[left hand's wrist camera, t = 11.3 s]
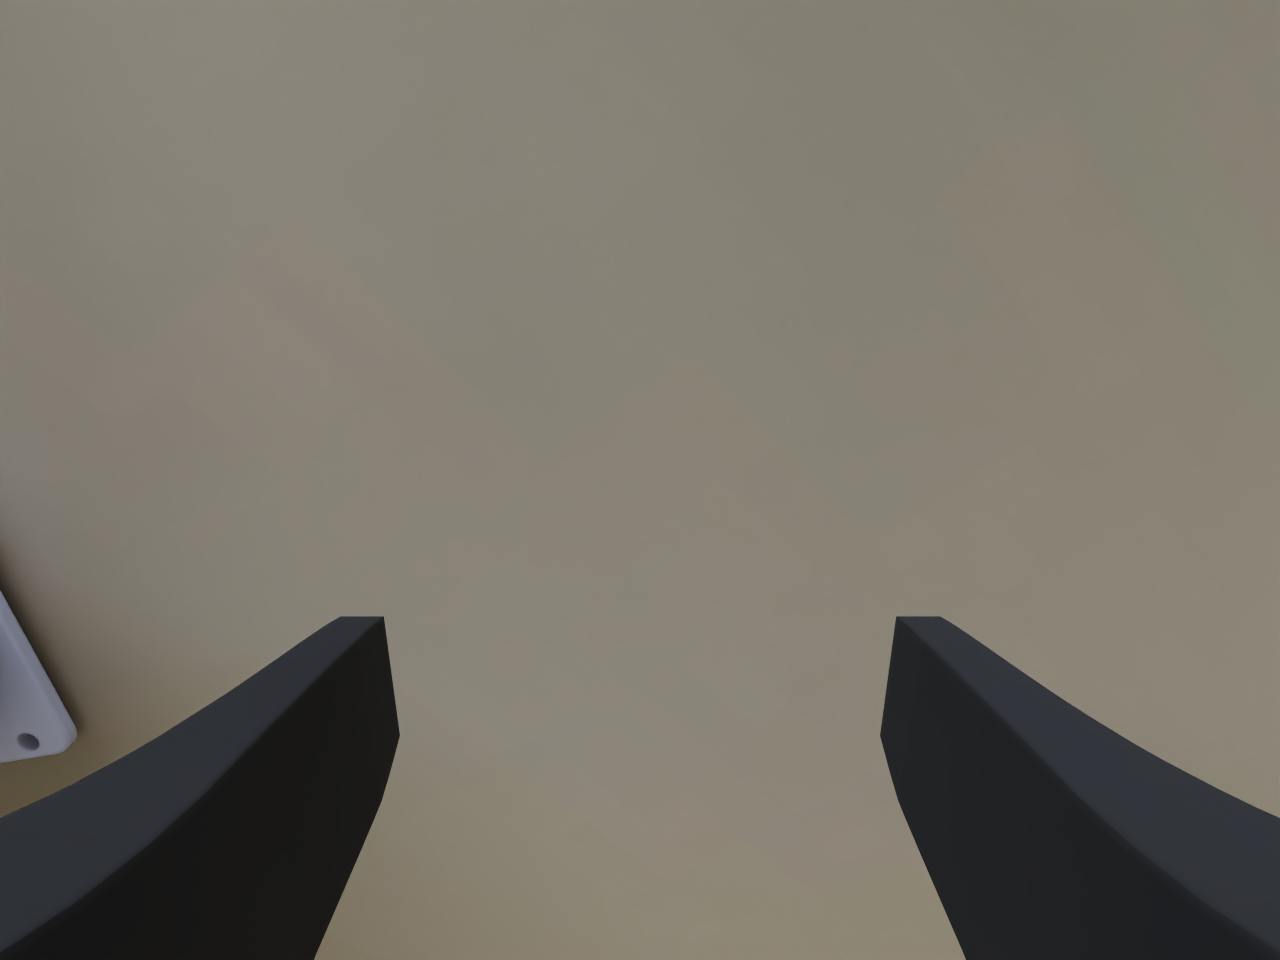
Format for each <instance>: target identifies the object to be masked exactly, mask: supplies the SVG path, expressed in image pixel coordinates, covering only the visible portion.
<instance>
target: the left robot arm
mask: <svg viewBox="0 0 1280 960" xmlns="http://www.w3.org/2000/svg"><path fill="white" fill-rule="evenodd" d="M32 735H33V736H35V737H36V738H37V739H36V738H34V737H33V736H32ZM399 736H400V734H399V726H398V719H397V711H396V704H395V697H394V689H393V682H392V675H391V667H390V660H389V652H388V645H387V638H386V630H385V623H384V617H339V618H337V619H335V620H334V621H332V622H330V623H329V624H327V625H326V626H324V627H322V628H321V629H319V630H318V631H316V632H315V633H313V634H312V635H311V636H309V637H308V638H306V639H305V640H303V641H302V642H300V643H299V644H298V645H296V646H295V647H293V648H292V649H290V650H289V651H288V652H286V653H285V654H283V655H282V656H280V657H279V658H278V659H276V660H275V661H273V662H272V663H270V664H269V665H267V666H266V667H265V668H263V669H262V670H260V671H259V672H257V673H256V674H254V675H253V676H251V677H250V678H249V679H247V680H246V681H244V682H243V683H241V684H240V685H238V686H237V687H236V688H234V689H233V690H231V691H230V692H228V693H227V694H225V695H224V696H222V697H220V698H219V699H217V700H216V701H214V702H213V703H211V704H209V705H208V706H206V707H205V708H203V709H201V710H200V711H198V712H197V713H195V714H194V715H192V716H190V717H189V718H187V719H186V720H184V721H183V722H181V723H179V724H178V725H176V726H175V727H173V728H171V729H170V730H168V731H167V732H165V733H164V734H162V735H160V736H159V737H157V738H155V739H154V740H152V741H150V742H149V743H147V744H145V745H144V746H142V747H140V748H138V749H137V750H135V751H133V752H131V753H129V754H128V755H126V756H124V757H122V758H121V759H119V760H117V761H115V762H113V763H111V764H110V765H108V766H106V767H104V768H102V769H100V770H98V771H96V772H94V773H93V774H91V775H89V776H87V777H85V778H83V779H81V780H79V781H77V782H76V783H74V784H72V785H70V786H68V787H66V788H64V789H62V790H60V791H58V792H56V793H54V794H52V795H49V796H47V797H45V798H43V799H41V800H39V801H36V802H34V803H32V804H30V805H28V806H26V807H23V808H21V809H19V810H17V811H15V812H13V813H10V814H8V815H6V816H4V817H2V818H0V960H314V958H315V955H316V953H317V951H318V948H319V946H320V944H321V941H322V939H323V937H324V935H325V932H326V930H327V928H328V925H329V923H330V921H331V918H332V916H333V914H334V911H335V909H336V907H337V904H338V902H339V900H340V898H341V895H342V893H343V891H344V888H345V886H346V884H347V881H348V879H349V877H350V874H351V872H352V870H353V867H354V865H355V863H356V861H357V858H358V856H359V854H360V851H361V849H362V847H363V844H364V842H365V839H366V837H367V835H368V832H369V830H370V828H371V825H372V823H373V821H374V818H375V816H376V813H377V811H378V808H379V806H380V803H381V801H382V798H383V794H384V791H385V788H386V784H387V781H388V777H389V774H390V770H391V767H392V763H393V759H394V755H395V752H396V748H397V744H398V740H399ZM880 736H881V740H882V744H883V748H884V752H885V755H886V759H887V763H888V767H889V770H890V774H891V777H892V781H893V784H894V788H895V791H896V794H897V798H898V801H899V803H900V806H901V808H902V811H903V813H904V816H905V818H906V821H907V823H908V825H909V828H910V830H911V832H912V835H913V837H914V839H915V842H916V844H917V847H918V849H919V851H920V854H921V856H922V858H923V861H924V863H925V865H926V867H927V870H928V872H929V874H930V877H931V879H932V881H933V884H934V886H935V888H936V891H937V893H938V895H939V898H940V900H941V902H942V904H943V907H944V909H945V911H946V914H947V916H948V918H949V921H950V923H951V925H952V928H953V930H954V932H955V935H956V937H957V939H958V941H959V944H960V946H961V948H962V951H963V953H964V955H965V958H966V960H1280V818H1278V817H1276V816H1274V815H1272V814H1269V813H1267V812H1265V811H1263V810H1260V809H1258V808H1256V807H1254V806H1252V805H1250V804H1248V803H1246V802H1244V801H1242V800H1239V799H1237V798H1235V797H1233V796H1231V795H1229V794H1227V793H1225V792H1223V791H1221V790H1219V789H1217V788H1215V787H1213V786H1211V785H1209V784H1208V783H1206V782H1204V781H1202V780H1200V779H1198V778H1196V777H1194V776H1192V775H1190V774H1188V773H1187V772H1185V771H1183V770H1181V769H1179V768H1177V767H1175V766H1173V765H1171V764H1169V763H1167V762H1166V761H1164V760H1162V759H1160V758H1158V757H1157V756H1155V755H1153V754H1151V753H1149V752H1148V751H1146V750H1144V749H1142V748H1141V747H1139V746H1137V745H1135V744H1134V743H1132V742H1130V741H1129V740H1127V739H1125V738H1124V737H1122V736H1120V735H1119V734H1117V733H1116V732H1114V731H1112V730H1111V729H1109V728H1107V727H1106V726H1104V725H1102V724H1101V723H1099V722H1098V721H1096V720H1094V719H1093V718H1091V717H1089V716H1088V715H1086V714H1085V713H1083V712H1082V711H1080V710H1078V709H1077V708H1075V707H1074V706H1072V705H1071V704H1069V703H1068V702H1066V701H1064V700H1063V699H1061V698H1060V697H1058V696H1057V695H1055V694H1054V693H1052V692H1051V691H1049V690H1048V689H1046V688H1045V687H1044V686H1042V685H1041V684H1039V683H1038V682H1036V681H1035V680H1033V679H1032V678H1030V677H1029V676H1027V675H1026V674H1024V673H1023V672H1022V671H1020V670H1019V669H1017V668H1016V667H1014V666H1013V665H1012V664H1010V663H1009V662H1007V661H1006V660H1004V659H1003V658H1002V657H1000V656H999V655H997V654H996V653H994V652H993V651H992V650H990V649H989V648H987V647H986V646H984V645H983V644H981V643H980V642H979V641H977V640H976V639H974V638H973V637H971V636H970V635H968V634H967V633H965V632H964V631H962V630H961V629H959V628H958V627H956V626H955V625H953V624H952V623H950V622H948V621H947V620H945V619H943V618H942V617H896V623H895V630H894V638H893V645H892V652H891V660H890V667H889V675H888V682H887V689H886V697H885V704H884V711H883V719H882V726H881V734H880ZM76 737H77V730H76V727H75V725H74V723H73V721H72V719H71V718H70V716H69V714H68V712H67V710H66V709H65V707H64V705H63V703H62V701H61V700H60V698H59V696H58V694H57V692H56V690H55V689H54V687H53V685H52V683H51V681H50V680H49V678H48V676H47V674H46V672H45V670H44V669H43V667H42V665H41V663H40V661H39V660H38V658H37V656H36V654H35V652H34V651H33V649H32V647H31V645H30V643H29V641H28V640H27V638H26V636H25V634H24V632H23V631H22V629H21V627H20V625H19V623H18V621H17V620H16V618H15V616H14V614H13V612H12V611H11V609H10V607H9V605H8V603H7V602H6V600H5V598H4V596H3V594H2V592H1V591H0V763H3V762H10V761H16V760H22V759H28V758H34V757H41V756H47V755H53V754H58V753H61V752H64V751H65V750H66V749H67V748H68V747H69V746H70V745H71V744H72V743H73V742H74V741H75V740H76Z"/></svg>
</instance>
